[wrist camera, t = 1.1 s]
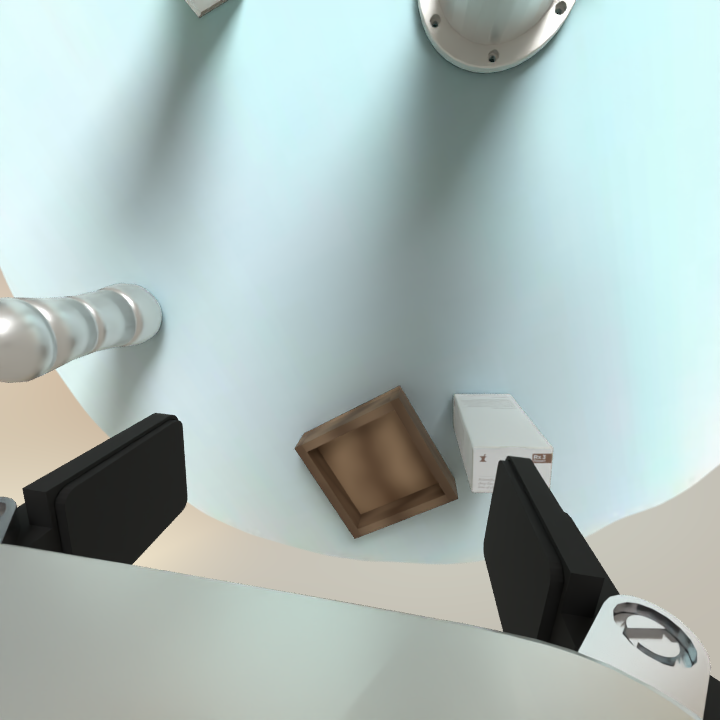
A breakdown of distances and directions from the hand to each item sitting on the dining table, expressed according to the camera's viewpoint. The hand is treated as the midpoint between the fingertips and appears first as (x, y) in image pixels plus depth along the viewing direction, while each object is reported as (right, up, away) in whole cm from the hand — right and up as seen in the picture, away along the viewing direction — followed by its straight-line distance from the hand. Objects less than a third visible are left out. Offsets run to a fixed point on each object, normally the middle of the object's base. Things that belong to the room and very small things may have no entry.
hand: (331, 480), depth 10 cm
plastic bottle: (-24, +9, +31) cm, 41 cm away
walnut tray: (+3, -8, +32) cm, 33 cm away
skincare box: (+14, -2, +29) cm, 32 cm away
